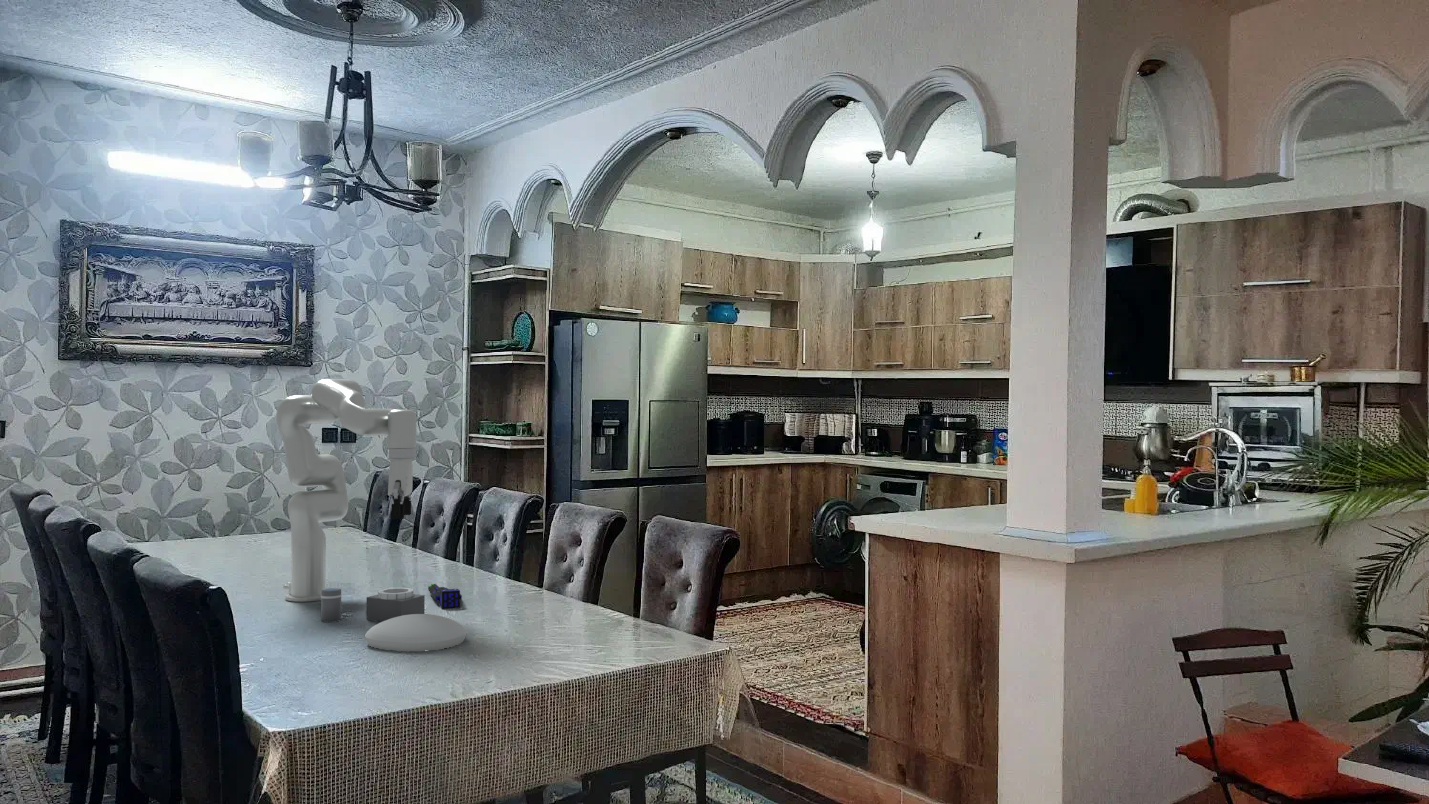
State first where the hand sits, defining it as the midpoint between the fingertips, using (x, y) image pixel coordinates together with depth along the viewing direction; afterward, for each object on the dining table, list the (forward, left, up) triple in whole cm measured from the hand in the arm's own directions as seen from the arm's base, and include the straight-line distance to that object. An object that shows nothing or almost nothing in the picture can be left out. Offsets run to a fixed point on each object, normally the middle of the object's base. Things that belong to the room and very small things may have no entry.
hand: (401, 516), depth 278 cm
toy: (-4, +24, -28) cm, 37 cm away
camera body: (+2, -4, -27) cm, 27 cm away
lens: (-12, -13, -27) cm, 32 cm away
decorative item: (+25, -22, -27) cm, 43 cm away
